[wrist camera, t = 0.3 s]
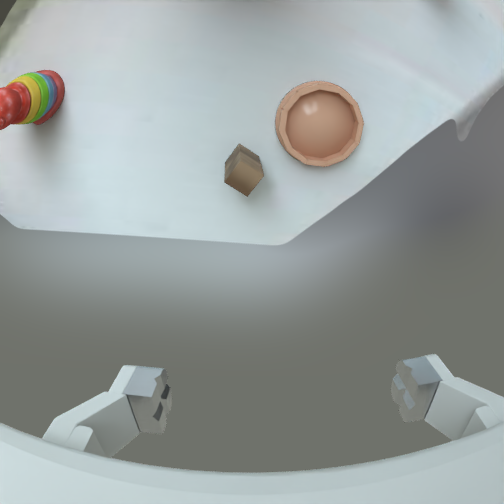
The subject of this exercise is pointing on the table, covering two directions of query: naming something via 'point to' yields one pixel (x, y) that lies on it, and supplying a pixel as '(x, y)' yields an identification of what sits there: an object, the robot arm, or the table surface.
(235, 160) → the walnut block
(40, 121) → the stacking bear
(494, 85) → the table surface
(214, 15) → the table surface
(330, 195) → the table surface
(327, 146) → the dish
